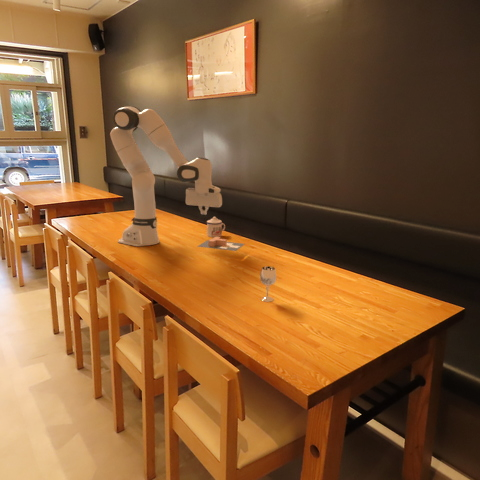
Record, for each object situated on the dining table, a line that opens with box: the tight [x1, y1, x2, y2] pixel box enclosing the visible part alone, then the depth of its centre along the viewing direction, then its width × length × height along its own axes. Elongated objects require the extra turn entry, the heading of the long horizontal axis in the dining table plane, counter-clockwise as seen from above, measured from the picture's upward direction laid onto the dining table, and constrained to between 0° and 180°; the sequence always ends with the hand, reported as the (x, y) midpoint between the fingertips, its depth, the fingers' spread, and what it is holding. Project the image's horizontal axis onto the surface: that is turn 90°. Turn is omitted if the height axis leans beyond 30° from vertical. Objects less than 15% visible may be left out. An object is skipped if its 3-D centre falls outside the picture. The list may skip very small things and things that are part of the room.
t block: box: [208, 236, 228, 247], centre depth 214 cm, size 8×10×3 cm
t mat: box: [197, 239, 245, 252], centre depth 214 cm, size 22×15×1 cm
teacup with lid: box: [206, 216, 226, 238], centre depth 234 cm, size 12×9×12 cm
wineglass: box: [259, 265, 277, 303], centre depth 143 cm, size 6×6×12 cm
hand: (203, 214), depth 213 cm, fingers closed
